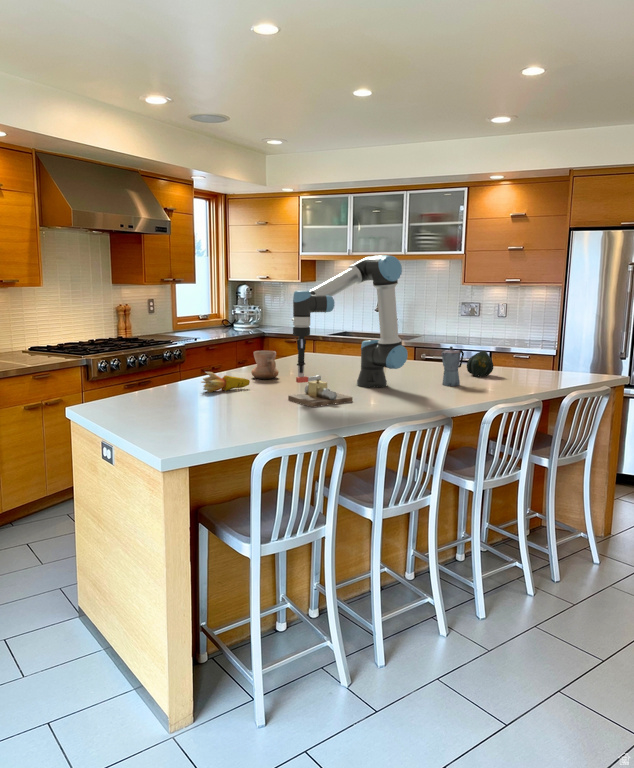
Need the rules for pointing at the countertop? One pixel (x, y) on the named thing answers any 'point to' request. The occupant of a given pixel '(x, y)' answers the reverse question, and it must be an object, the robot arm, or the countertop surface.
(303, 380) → the valve lever
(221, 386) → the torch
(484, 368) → the squash
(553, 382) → the countertop surface
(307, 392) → the valve pipe
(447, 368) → the moka pot
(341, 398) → the mounting board
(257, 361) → the ceramic jug
